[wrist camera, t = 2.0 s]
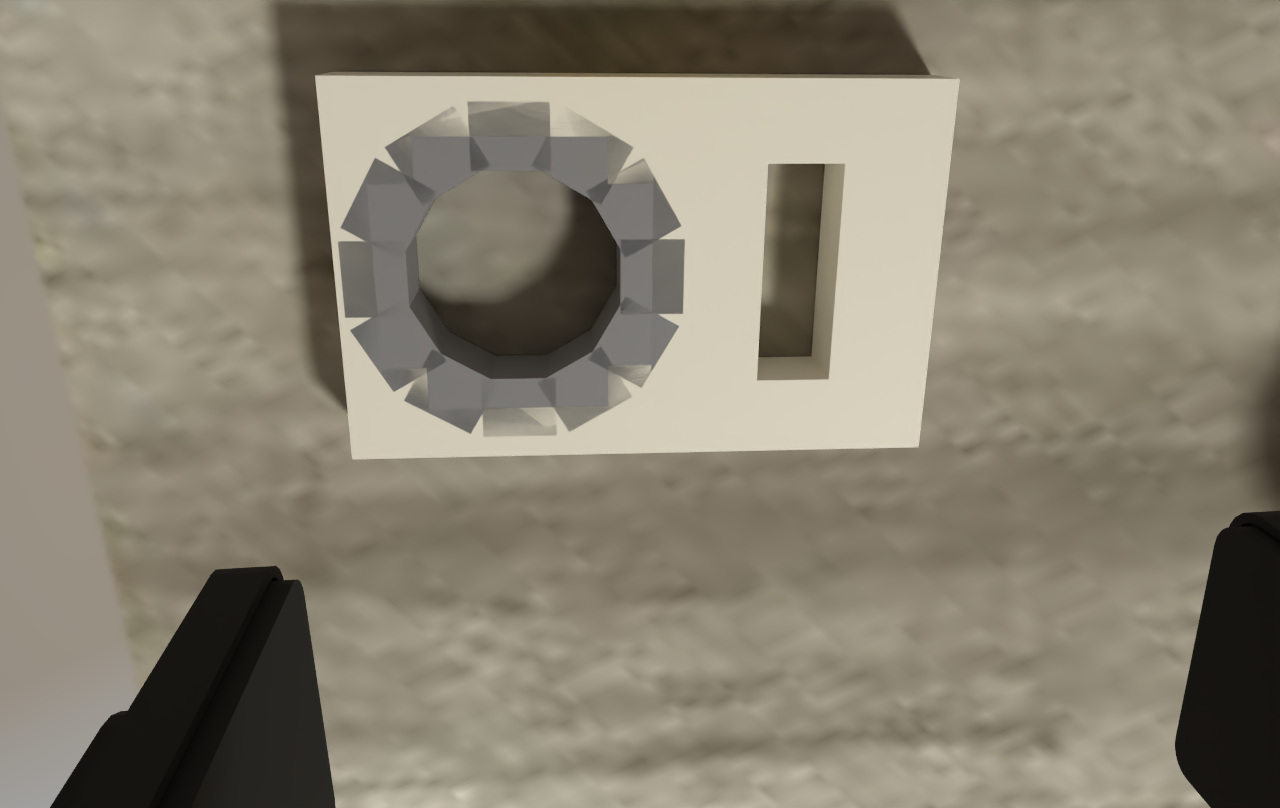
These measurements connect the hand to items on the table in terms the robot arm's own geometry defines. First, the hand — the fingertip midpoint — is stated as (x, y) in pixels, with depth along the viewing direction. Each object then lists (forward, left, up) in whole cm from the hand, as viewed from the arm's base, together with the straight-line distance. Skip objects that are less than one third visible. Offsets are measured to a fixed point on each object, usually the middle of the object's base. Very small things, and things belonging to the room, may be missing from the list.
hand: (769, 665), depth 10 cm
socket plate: (-1, +1, -25) cm, 25 cm away
